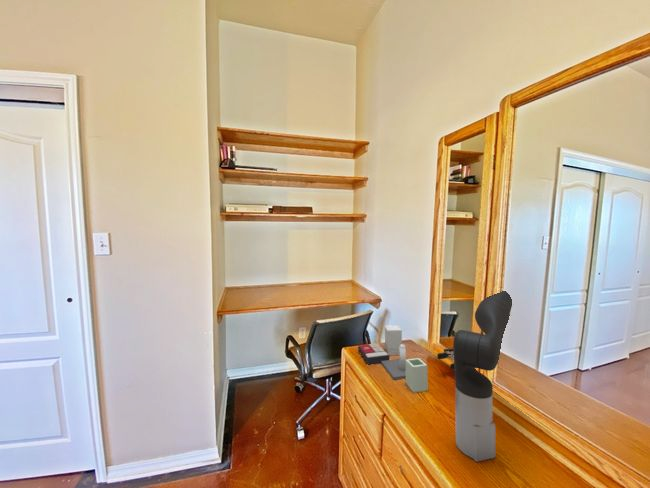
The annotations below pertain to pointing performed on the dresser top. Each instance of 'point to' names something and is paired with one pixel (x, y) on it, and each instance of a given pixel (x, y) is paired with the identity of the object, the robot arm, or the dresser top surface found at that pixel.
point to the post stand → (397, 365)
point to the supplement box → (393, 339)
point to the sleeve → (416, 375)
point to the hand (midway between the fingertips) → (444, 361)
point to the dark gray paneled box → (373, 353)
